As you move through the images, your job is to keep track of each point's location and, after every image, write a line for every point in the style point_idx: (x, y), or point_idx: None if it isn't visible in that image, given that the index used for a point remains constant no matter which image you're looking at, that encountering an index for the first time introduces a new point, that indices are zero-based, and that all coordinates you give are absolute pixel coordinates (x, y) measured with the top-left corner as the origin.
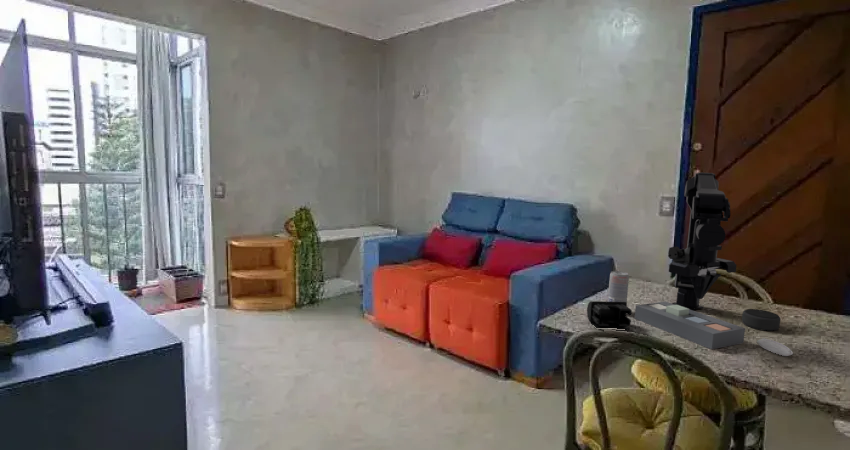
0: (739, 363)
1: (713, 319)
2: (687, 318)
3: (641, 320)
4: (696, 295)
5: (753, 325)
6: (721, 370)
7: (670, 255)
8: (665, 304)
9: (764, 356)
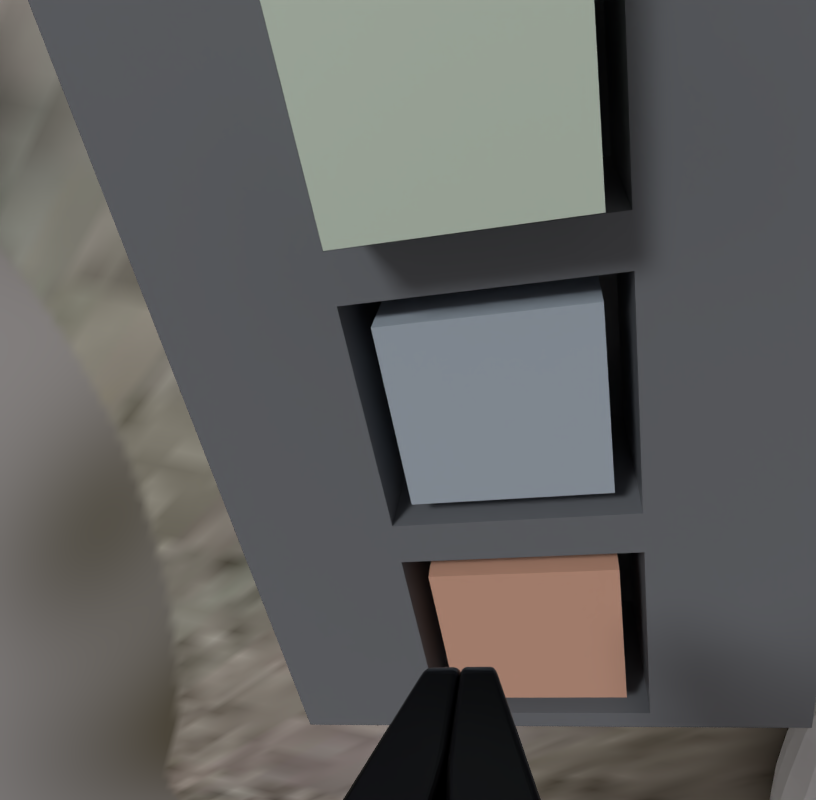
0: (352, 764)
1: (749, 468)
2: (398, 346)
3: None
4: (399, 726)
5: None
6: (170, 777)
7: None
8: None
9: (635, 760)
